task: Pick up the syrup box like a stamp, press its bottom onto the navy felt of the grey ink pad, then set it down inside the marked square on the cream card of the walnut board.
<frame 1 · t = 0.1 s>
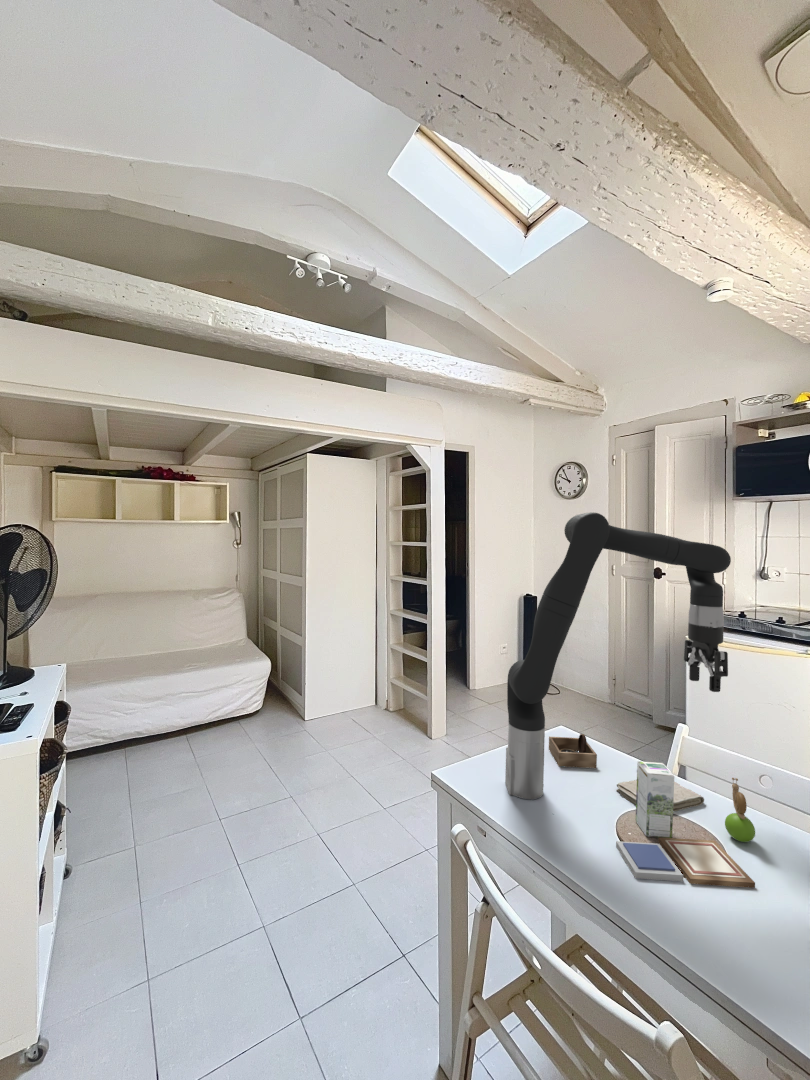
hand: (704, 685, 115), 29 cm above the table, fingers open, 8 cm apart
snail figurine: (738, 839, 100), on the table
ink pad: (647, 863, 91), on the table
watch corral: (571, 758, 135), on the table
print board: (703, 863, 91), on the table
syrup box: (653, 831, 102), on the table
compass: (571, 759, 135), resting in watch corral
washcloth: (658, 800, 115), on the table
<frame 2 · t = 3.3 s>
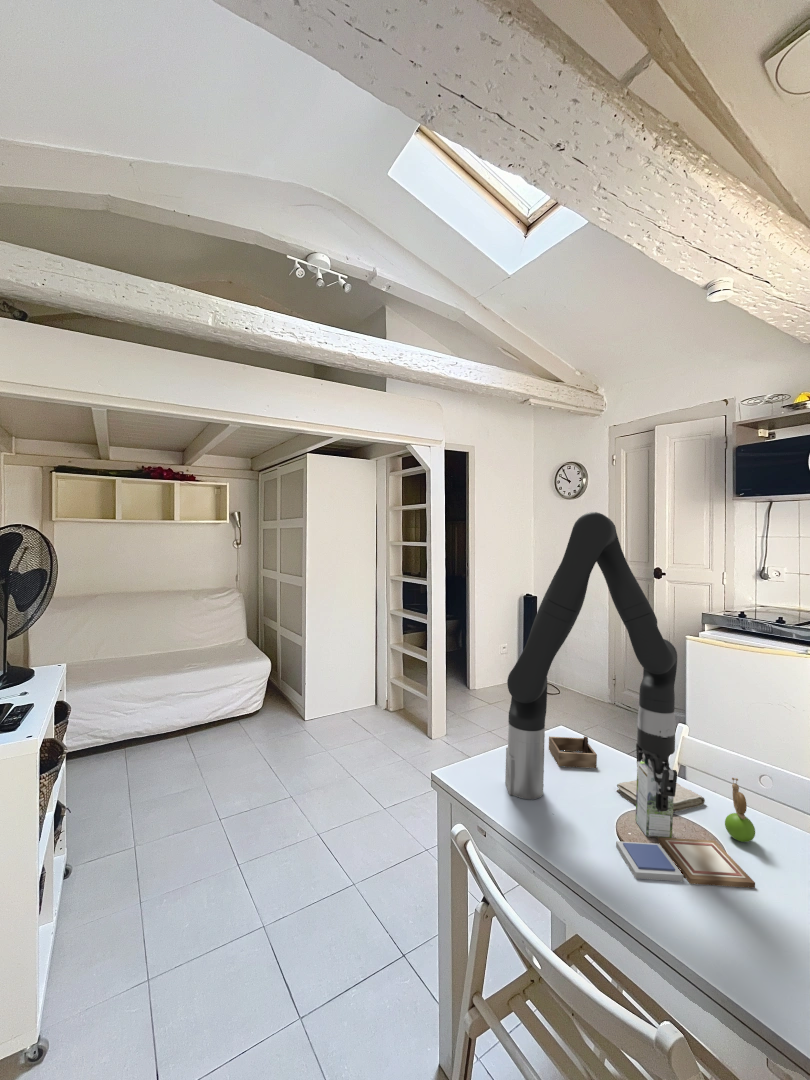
hand: (654, 801, 102), 7 cm above the table, fingers closed on syrup box, 6 cm apart
syrup box: (653, 831, 102), on the table, touching gripper
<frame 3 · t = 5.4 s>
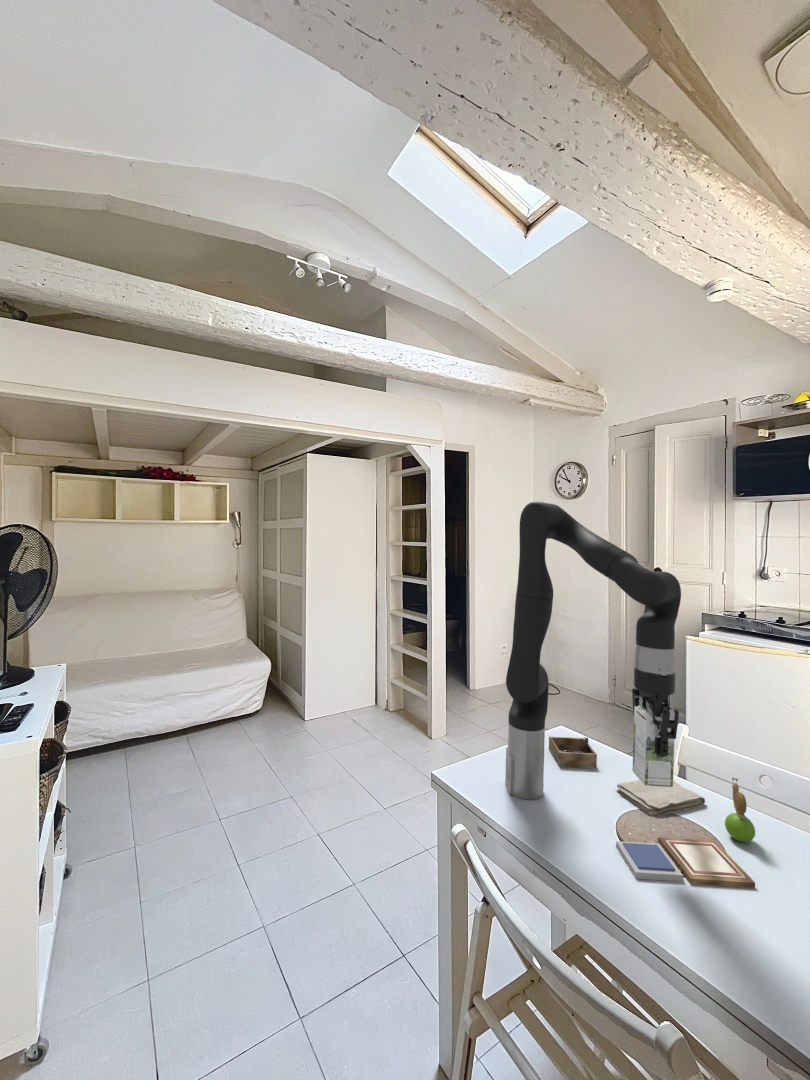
hand: (652, 748, 93), 23 cm above the table, fingers closed on syrup box, 6 cm apart
syrup box: (652, 780, 93), point 16 cm above the table, touching gripper
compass: (573, 761, 134), resting in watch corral
everything else where it was.
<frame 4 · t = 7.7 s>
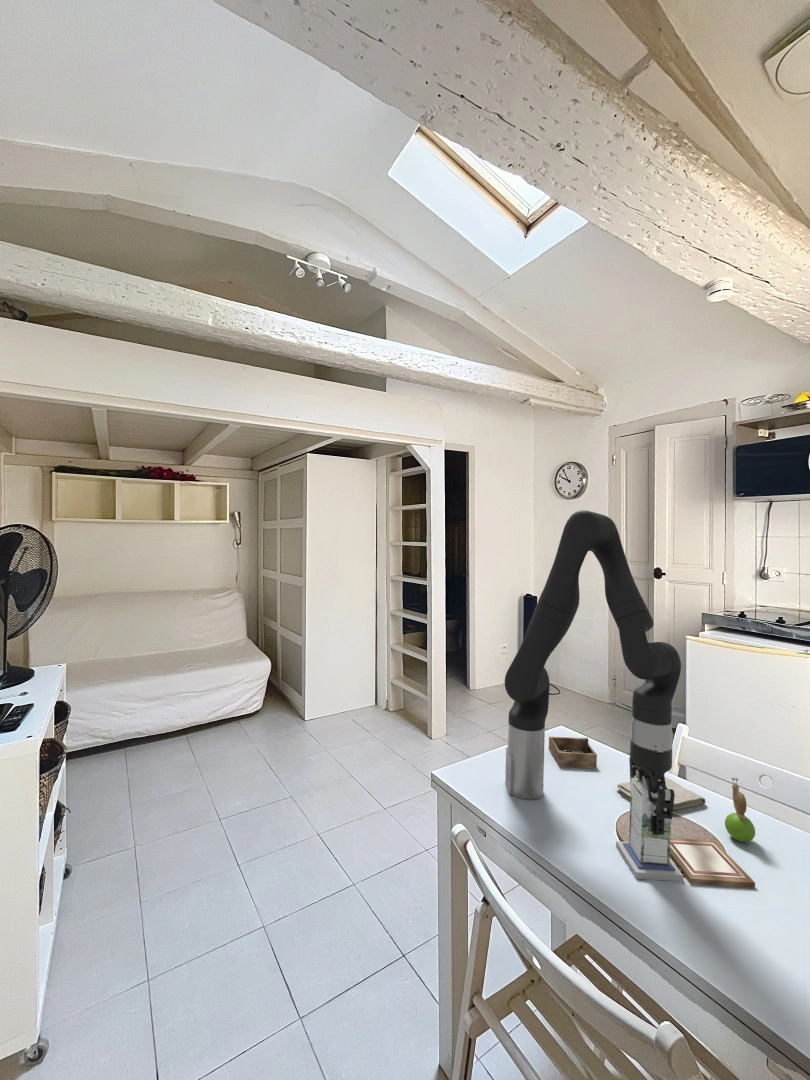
hand: (649, 822, 91), 8 cm above the table, fingers closed on syrup box, 6 cm apart
syrup box: (648, 856, 91), point 1 cm above the table, touching gripper, ink pad
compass: (572, 761, 134), resting in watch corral
everything else where it was.
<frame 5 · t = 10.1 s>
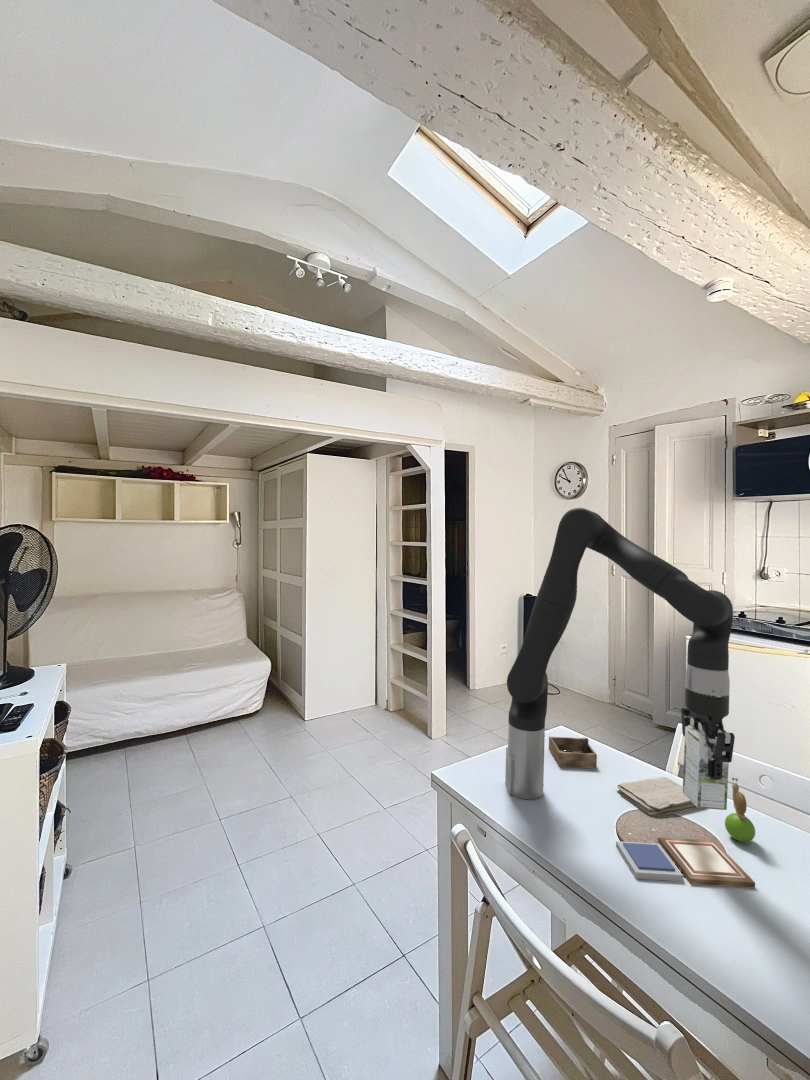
hand: (704, 769, 92), 19 cm above the table, fingers closed on syrup box, 6 cm apart
syrup box: (704, 802, 92), point 12 cm above the table, touching gripper
everything else where it was.
when the fingers open (8 cm above the table, at t = 12.2 s): syrup box stays where it is, resting on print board.
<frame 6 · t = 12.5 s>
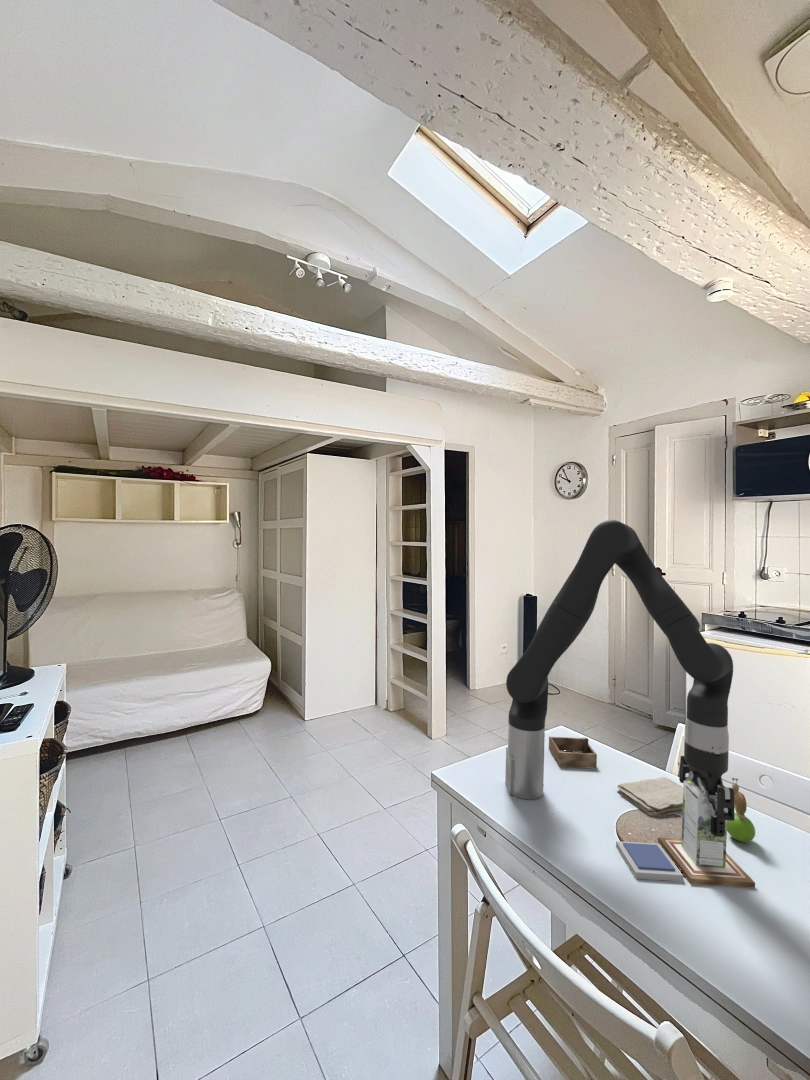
hand: (704, 821, 91), 8 cm above the table, fingers open, 8 cm apart
syrup box: (703, 858, 91), point 1 cm above the table, touching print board
everything else where it was.
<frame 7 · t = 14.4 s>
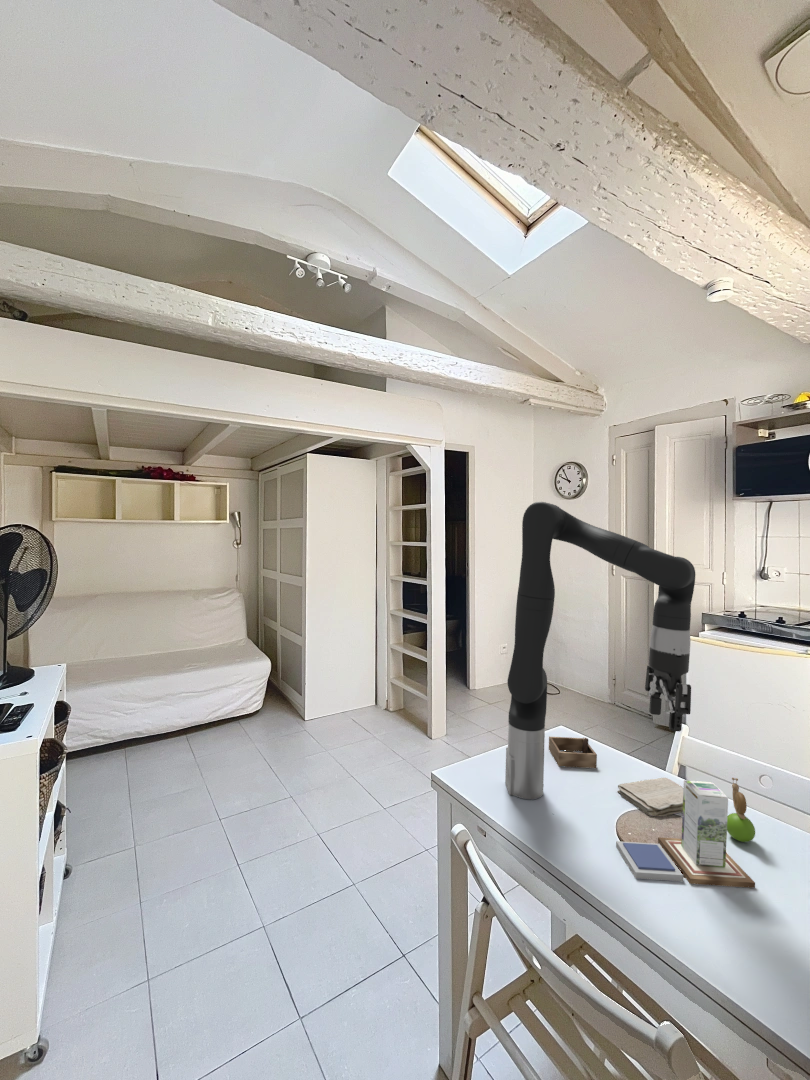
hand: (664, 722, 97), 26 cm above the table, fingers open, 8 cm apart
nothing on the table moved.
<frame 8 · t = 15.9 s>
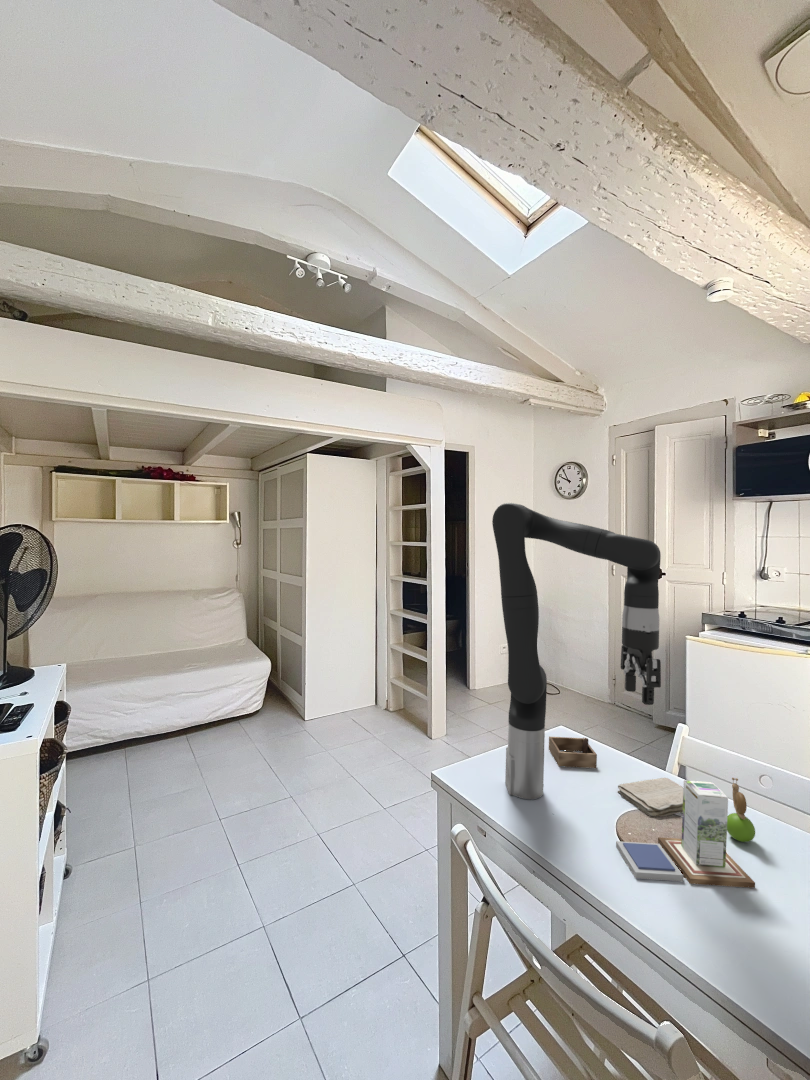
hand: (638, 697, 102), 30 cm above the table, fingers open, 8 cm apart
nothing on the table moved.
at the end: syrup box inside the target area on the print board (0.1 cm from its centre), point 0.9 cm above the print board's base; syrup box tilted 0°; the gripper is holding nothing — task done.
